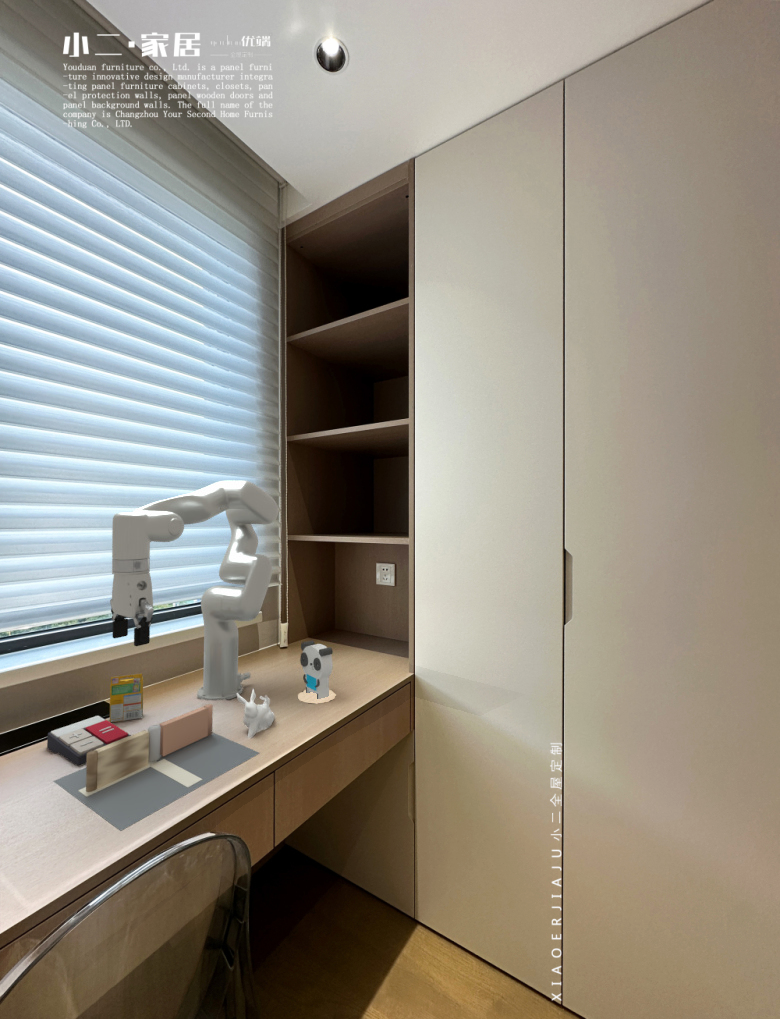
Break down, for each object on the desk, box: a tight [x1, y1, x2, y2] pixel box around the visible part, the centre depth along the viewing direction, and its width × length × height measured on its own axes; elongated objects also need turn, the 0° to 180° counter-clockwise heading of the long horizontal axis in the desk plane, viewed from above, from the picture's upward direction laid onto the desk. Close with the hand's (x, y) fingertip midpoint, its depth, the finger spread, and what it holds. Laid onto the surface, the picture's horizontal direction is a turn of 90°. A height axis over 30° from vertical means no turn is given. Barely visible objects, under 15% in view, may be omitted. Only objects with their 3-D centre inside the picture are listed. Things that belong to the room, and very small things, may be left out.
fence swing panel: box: [147, 703, 214, 762], centre depth 104 cm, size 15×2×7 cm, turn 147°
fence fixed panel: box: [85, 729, 149, 792], centre depth 92 cm, size 12×2×7 cm, turn 147°
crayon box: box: [109, 672, 144, 723], centre depth 119 cm, size 7×3×12 cm, turn 115°
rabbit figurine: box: [236, 688, 276, 739], centre depth 114 cm, size 12×8×10 cm, turn 153°
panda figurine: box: [299, 640, 334, 699], centre depth 136 cm, size 12×11×15 cm
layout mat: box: [53, 731, 260, 832], centre depth 96 cm, size 30×25×1 cm
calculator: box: [46, 715, 132, 767], centre depth 104 cm, size 11×4×15 cm
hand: (130, 640), depth 106 cm, fingers open, 9 cm apart
